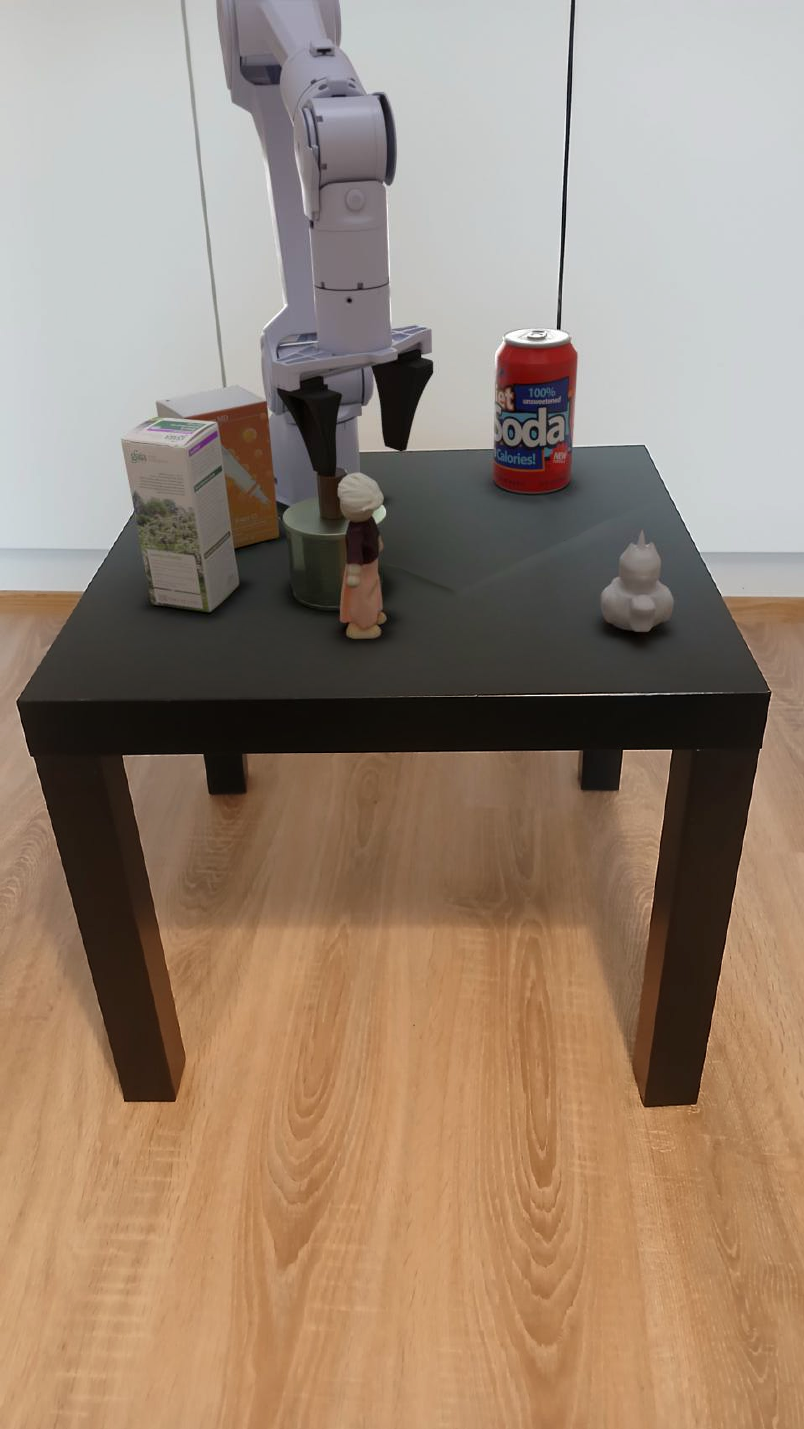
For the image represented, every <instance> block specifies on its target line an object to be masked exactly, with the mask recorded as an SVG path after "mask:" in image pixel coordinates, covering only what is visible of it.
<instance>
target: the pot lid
mask: <svg viewBox="0 0 804 1429" xmlns="http://www.w3.org/2000/svg"><path fill="white" fill-rule="evenodd" d="M346 476H347V471H346V470H345V469H343V468H338V467H336V473H335V474H334V475H331V476H326V475H323V474H321V473H318V472H317V486H318V497H314V498H310V499H306V500H303V501H300V502H298V503H296V504H294V505H292V506H288V508H287V509H285V511H284V512H283V514H282V524H283V527H284V528H285V530H286V529H287V530H288V531H289V532H291V533H292V534H295V535H297V536H300V537H304V538H308V539H315V540H343V539H345V535H346V531H347V528H348V524H349V521H350V520H348V519H346V518H345V516H344V515H343V514H342V512H341V508H340V498H339V497H338V484H339V483H340V482H341V480H342V479H343V478H344V477H346ZM372 516H373V518H374V519H375V522H376V524H377V527H378V529H379V528H382V526H383V525H384V524H385V523H386V522H387V509H386V508H385V506H384V505H383V504H382V505H381V506H380V508H378V509H377V510H374V512H373V514H372Z"/></svg>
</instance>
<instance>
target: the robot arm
mask: <svg viewBox="0 0 804 1429" xmlns="http://www.w3.org/2000/svg"><path fill="white" fill-rule="evenodd" d="M215 3H216V4H215V6H216V20H217V29H218V39H219V44H220V50H221V56H222V64H223V70H224V78H225V83H226V88H227V90H228V91H229V94H230V101H231V103H232V104H234V105H235V106H237V107H239V108H240V109H242V110H243V111H246V112H247V113H249V114H250V115H251V119H252V120H253V124H254V126H255V130H256V133H257V137H258V140H259V143H260V147H261V154H262V160H263V167H264V175H265V182H266V189H267V195H268V196H267V197H268V204H269V210H270V216H271V217H270V218H271V223H272V230H273V231H272V232H273V237H274V239H273V240H274V244H275V251H276V260H277V266H278V267H277V268H278V271H279V280H280V286H281V294H282V300H283V308H282V309H281V310H280V311H278V313H277V314H276V315H275V316H274V317H273V318H272V319H271V320H269V322H268V323H267V324H266V325H265V326H264V327H263V329H262V331H261V334H260V338H259V347H260V366H261V367H260V368H261V378H262V385H263V392H264V397H265V400H266V401H267V407H268V411H270V412H272V413H271V414H270V416H269V417H268V418H269V429H270V439H271V450H272V461H273V472H274V482H275V493H276V502H279V503H281V504H284V505H285V506H288V507H290V506H292V505H294V504H296V503H298V502H300V501H303V500H306V499H310V498H314V497H318V486H317V472H318V473H321V474H323V475H326V476H331V475H334V474H335V473H336V467H338V468H343V469H345V470H346V471H347V475H348V474H351V473H358V472H359V473H361V458H360V439H359V421H358V420H359V418H358V417H361V416H363V408H362V407H367V406H368V404H369V402H370V401H371V399H372V398H373V396H374V389H375V388H374V384H376V389H377V394H378V400H379V406H380V408H379V409H380V421H381V433H382V439H383V444H384V447H386V448H389V449H393V450H394V451H398V452H401V453H402V452H405V451H407V449H408V444H409V440H410V435H411V431H412V428H413V423H414V419H415V415H416V411H417V408H418V405H419V402H420V400H421V398H422V396H423V393H424V391H425V389H426V387H427V385H428V383H429V381H430V380H431V378H432V376H433V374H434V361H433V360H432V359H429V358H427V357H426V358H425V357H422V356H424V355H425V356H426V355H428V354H431V353H432V352H433V341H432V337H433V336H432V335H433V334H432V333H433V330H432V329H433V328H431V327H428V326H423V325H420V324H419V325H418V324H411V325H406V326H401V327H394V328H392V325H393V324H392V299H391V298H392V297H391V296H392V295H391V267H390V265H391V264H390V262H391V261H390V234H389V233H390V232H389V206H388V205H389V204H388V203H389V202H388V189H387V188H386V186H387V187H391V186H392V184H393V183H394V180H395V177H396V171H397V161H398V160H397V159H398V141H397V140H398V138H397V128H396V120H395V114H394V110H393V107H392V104H391V101H390V99H389V96H388V94H387V92H385V91H374V92H373V93H367V92H366V89H365V88H364V86H363V84H362V81H361V80H360V77H359V76H358V74H357V71H356V69H355V67H354V66H353V63H352V61H351V59H350V57H349V56H348V55H347V53H346V52H344V50H343V49H342V12H341V4H340V0H215ZM384 184H385V185H384ZM374 382H375V383H374Z"/></svg>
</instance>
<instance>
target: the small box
mask: <svg viewBox="0 0 804 1429" xmlns="http://www.w3.org/2000/svg"><path fill="white" fill-rule="evenodd" d="M155 407H156V413H157V417H163V418H176V419H188V420H200V421H212V422H217V424H218V428H219V435H220V442H221V449H222V457H223V465H224V474H225V482H226V491H227V499H228V507H229V514H230V522H231V530H232V537H233V545H234V549H237V548H242V547H245V546H248V545H253V544H257V543H261V542H264V541H268V540H274V539H278V538H279V537H280V529H279V519H278V518H279V516H278V507H277V501H276V493H275V482H274V472H273V461H272V450H271V439H270V429H269V418H270V417H269V408H268V405H267V401H266V398H265V399H264V398H263V397H262V396H259V395H258V394H255V393H253V392H252V391H250V390H247V389H245V388H244V387H243V386H240V385H238V384H234V385H229V386H226V387H219V388H215V389H210V390H209V389H208V390H202V391H197V392H193V393H192V392H191V393H188V394H185V395H181V396H176V397H175V396H174V397H171V398H165V399H160V400H159V399H158V400H156V401H155Z"/></svg>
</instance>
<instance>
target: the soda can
mask: <svg viewBox="0 0 804 1429" xmlns="http://www.w3.org/2000/svg"><path fill="white" fill-rule="evenodd" d="M494 356H495V357H494V397H493V400H494V401H493V402H494V403H493V454H492V456H493V457H492V458H493V459H492V460H493V461H492V462H493V463H492V470H493V471H492V477H493V481H494V482H495V484H496V485H497V486H498V487H500V488H501V489H503V490H506V491H508V492H511V493H515V494H522V495H543V494H544V495H545V494H550V493H554V492H557V491H560V490H561V489H564V488H565V487H566V486H567V485H568V484H569V483H570V481H571V478H572V461H573V444H574V428H575V413H576V412H575V410H576V397H577V396H576V394H577V379H578V378H577V377H578V362H579V360H578V359H579V354H578V351H577V349H576V348H575V346H574V344H573V343H572V334H571V332H568V331H566V330H562V329H557V328H549V327H526V328H518V329H515V330H514V329H513V330H510V331H507V332H505V333H504V334H503V335H502V343H501V345H500V346H499V347H498V349H497V350H496V352H495V355H494Z"/></svg>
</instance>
